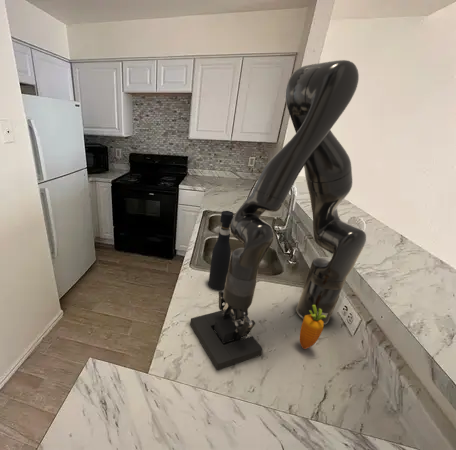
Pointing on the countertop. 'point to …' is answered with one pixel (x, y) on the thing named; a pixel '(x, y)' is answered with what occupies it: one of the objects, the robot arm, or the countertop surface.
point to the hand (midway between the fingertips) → (230, 331)
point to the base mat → (215, 348)
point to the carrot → (311, 328)
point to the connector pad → (225, 329)
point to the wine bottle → (221, 254)
